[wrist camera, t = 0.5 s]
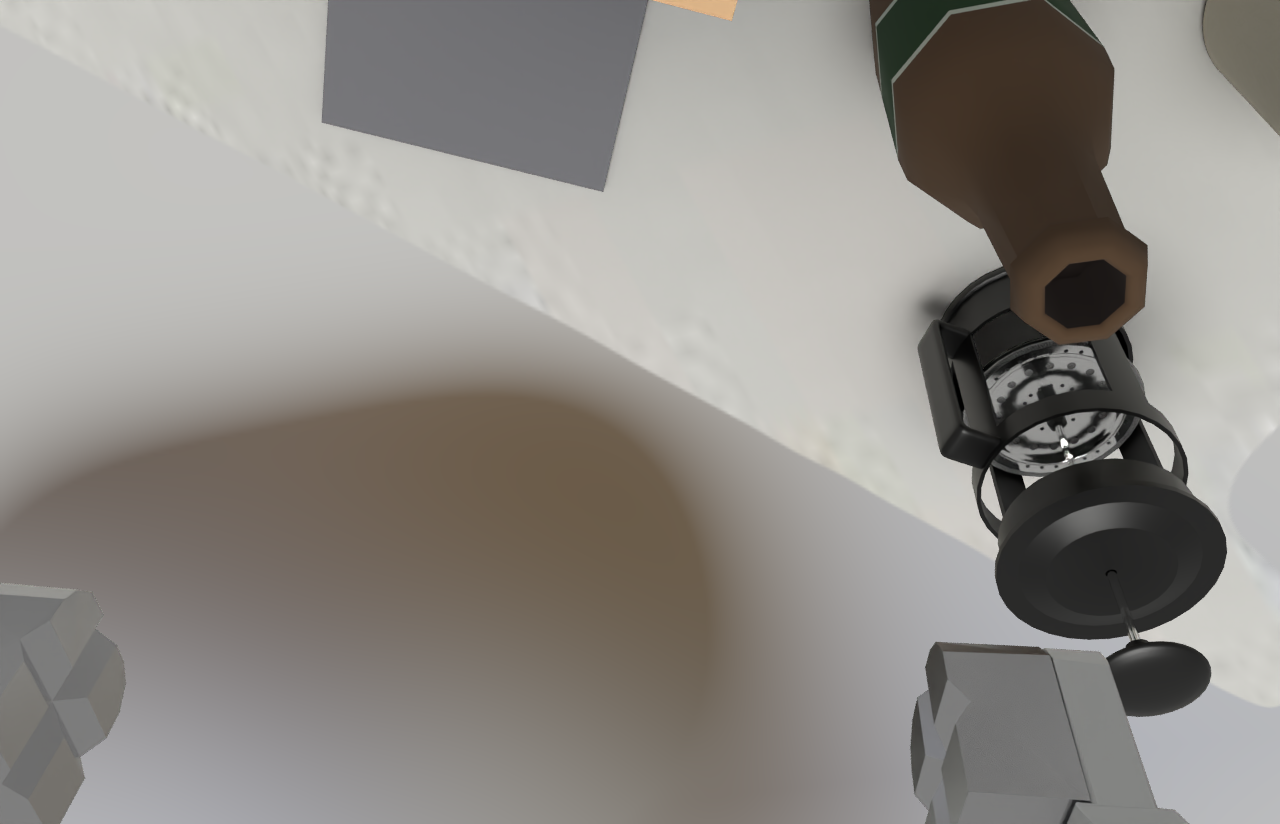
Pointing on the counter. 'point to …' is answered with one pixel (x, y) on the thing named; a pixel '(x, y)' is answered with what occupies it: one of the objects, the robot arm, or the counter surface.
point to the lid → (707, 6)
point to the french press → (1077, 493)
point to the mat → (487, 78)
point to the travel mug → (1247, 50)
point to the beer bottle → (1016, 148)
